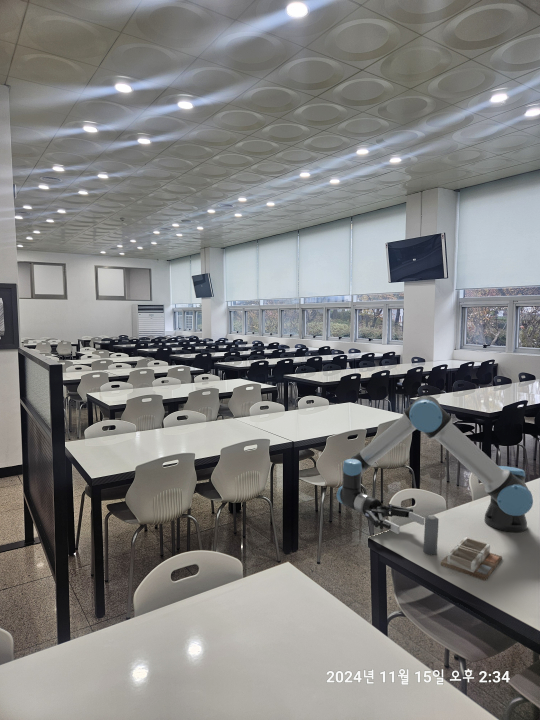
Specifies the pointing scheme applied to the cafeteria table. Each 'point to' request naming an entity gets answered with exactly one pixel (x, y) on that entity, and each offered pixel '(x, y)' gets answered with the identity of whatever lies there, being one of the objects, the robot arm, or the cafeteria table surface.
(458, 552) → the socket board
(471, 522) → the cafeteria table surface
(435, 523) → the plug
